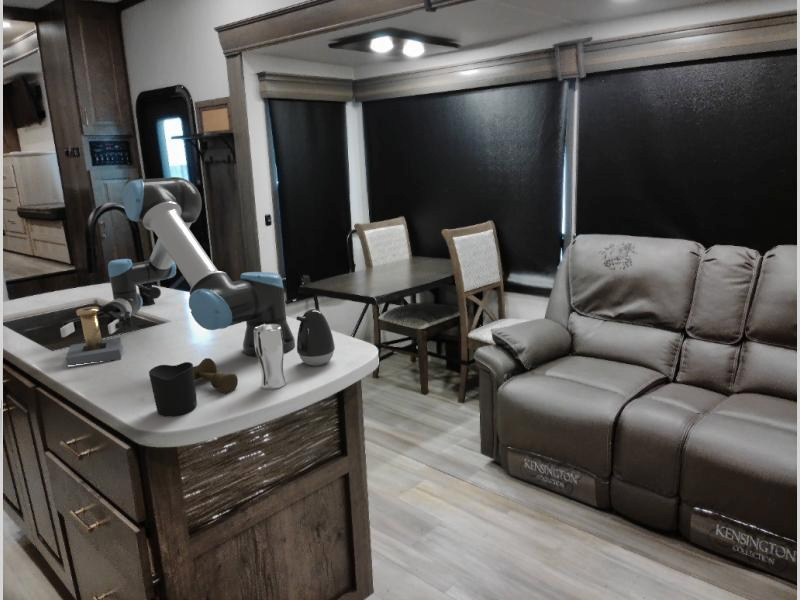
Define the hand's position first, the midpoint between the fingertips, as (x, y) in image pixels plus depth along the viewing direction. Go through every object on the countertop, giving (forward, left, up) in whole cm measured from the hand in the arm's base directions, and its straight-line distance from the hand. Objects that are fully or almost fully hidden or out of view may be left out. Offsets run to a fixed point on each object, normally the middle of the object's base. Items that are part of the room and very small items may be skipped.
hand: (85, 331), depth 172 cm
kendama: (-40, -29, -9) cm, 50 cm away
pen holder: (-52, -21, -9) cm, 57 cm away
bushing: (+3, -1, -9) cm, 10 cm away
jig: (+3, -1, -9) cm, 10 cm away
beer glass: (-49, -44, -9) cm, 67 cm away
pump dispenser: (-39, -58, -9) cm, 71 cm away
